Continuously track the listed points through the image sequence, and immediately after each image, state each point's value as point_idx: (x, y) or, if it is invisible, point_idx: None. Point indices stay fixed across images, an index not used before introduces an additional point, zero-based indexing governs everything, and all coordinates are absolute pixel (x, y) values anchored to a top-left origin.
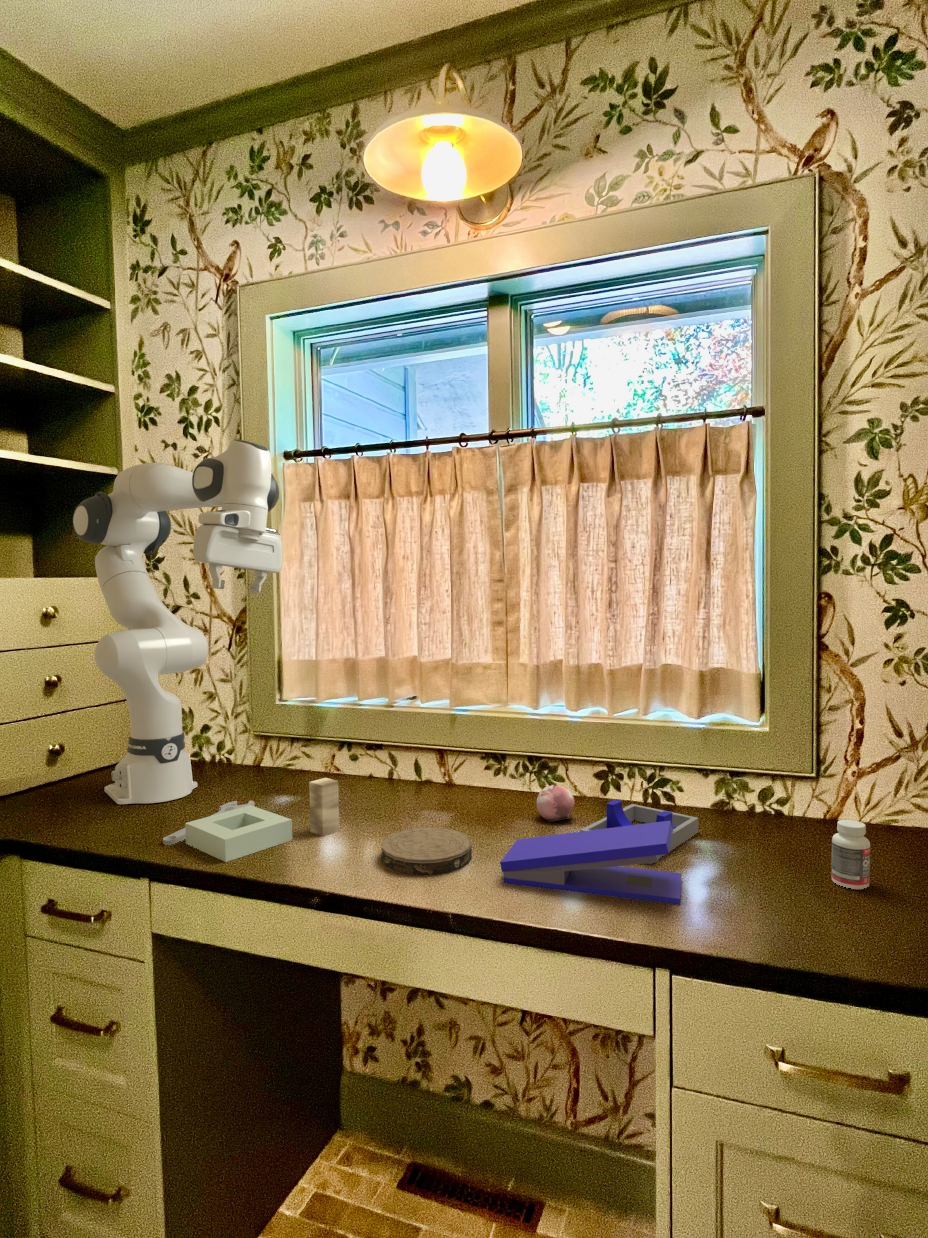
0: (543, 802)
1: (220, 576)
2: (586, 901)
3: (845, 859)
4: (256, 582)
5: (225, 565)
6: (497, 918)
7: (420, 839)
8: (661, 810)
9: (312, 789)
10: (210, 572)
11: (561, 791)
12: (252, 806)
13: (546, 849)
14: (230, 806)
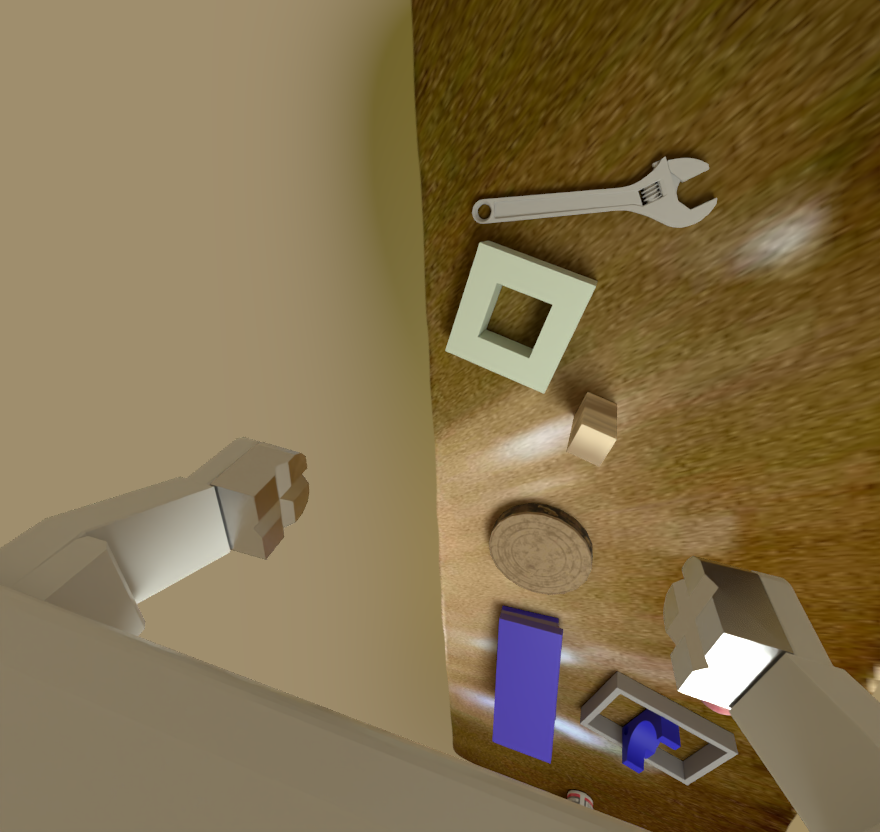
0: None
1: (192, 568)
2: (491, 652)
3: None
4: (777, 709)
5: (199, 681)
6: (443, 599)
7: (545, 548)
8: (711, 768)
9: (578, 426)
10: (94, 513)
11: (711, 708)
12: (589, 295)
13: (516, 659)
14: (664, 185)
